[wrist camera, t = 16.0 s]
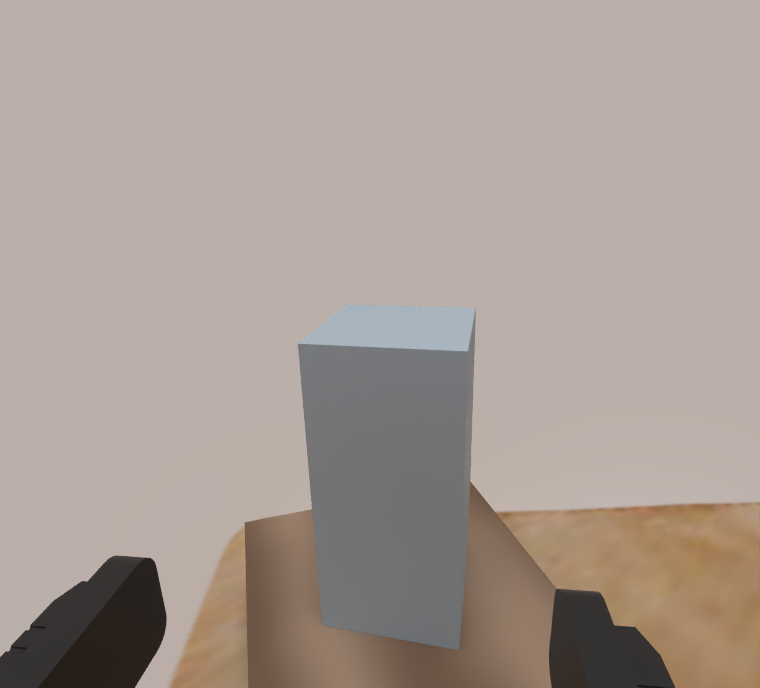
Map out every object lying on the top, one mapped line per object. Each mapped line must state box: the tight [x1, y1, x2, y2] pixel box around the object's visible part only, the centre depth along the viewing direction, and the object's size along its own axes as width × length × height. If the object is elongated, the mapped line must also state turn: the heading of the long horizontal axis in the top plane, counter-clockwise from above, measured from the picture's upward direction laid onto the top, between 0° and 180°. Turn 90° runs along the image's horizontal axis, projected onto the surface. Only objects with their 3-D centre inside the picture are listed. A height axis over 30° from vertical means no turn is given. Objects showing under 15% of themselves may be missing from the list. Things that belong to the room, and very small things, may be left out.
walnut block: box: [245, 482, 557, 688], centre depth 22 cm, size 13×13×6 cm
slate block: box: [298, 305, 476, 650], centre depth 20 cm, size 6×6×12 cm
